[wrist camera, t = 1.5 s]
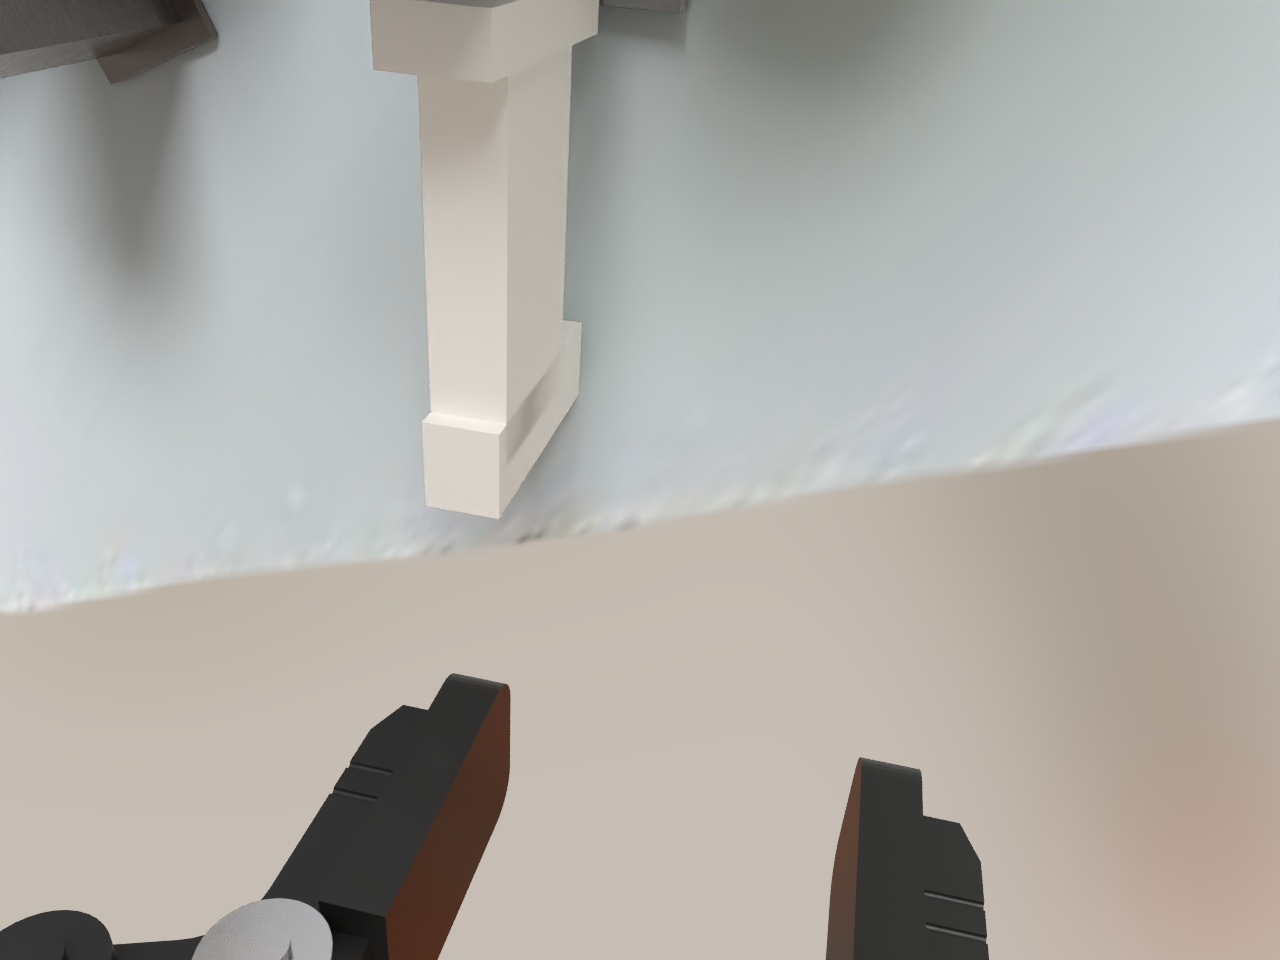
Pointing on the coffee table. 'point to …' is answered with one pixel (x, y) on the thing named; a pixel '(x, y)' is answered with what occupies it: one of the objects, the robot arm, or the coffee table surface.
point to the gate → (491, 231)
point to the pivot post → (649, 4)
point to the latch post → (98, 34)
